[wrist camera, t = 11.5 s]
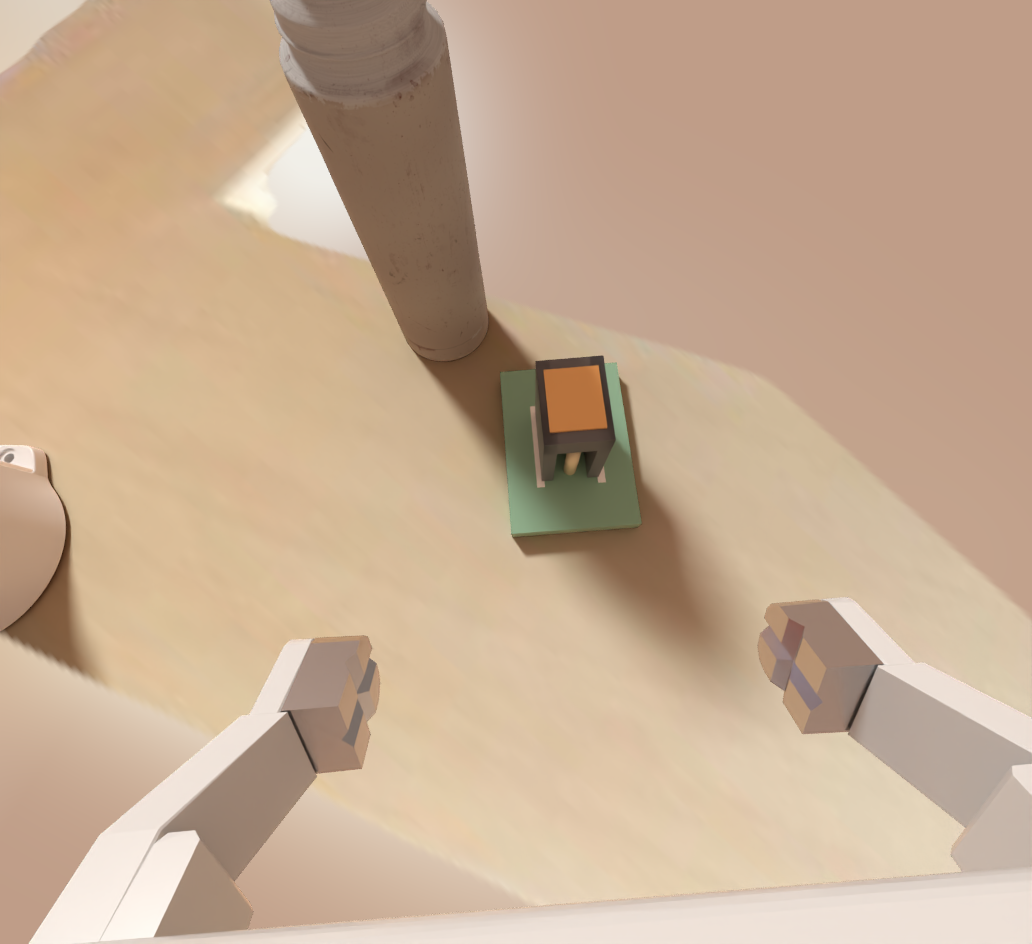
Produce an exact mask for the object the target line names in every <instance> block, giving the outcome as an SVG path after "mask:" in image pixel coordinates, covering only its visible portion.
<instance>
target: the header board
mask: <svg viewBox="0 0 1032 944" xmlns="http://www.w3.org/2000/svg"><path fill="white" fill-rule="evenodd" d="M605 370H606V377H607V384H608V390H609V397H610V404H611V410H612V417H613V424H614V431H615V437H616V441H615V443H614V445H613V447H612V449H611V451H610V453H609V456H608V458H607V460H606V462H605V464H604V466H603V468H602V470H601V473H600V475H599V477H589V478H587V472H586V464H585V456H584V452H576V453H564V454H557V457H556V464H555V471H554V477H553V480H552V481H542V480H541V469H540V458H539V448H538V437H537V427H536V416H535V377H536V369H531V370H519V371H507V372H500V380H501V394H502V408H503V422H504V437H505V451H506V465H507V479H508V493H509V508H510V522H511V534H512V537H521V536H534V535H546V534H559V533H572V532H585V531H597V530H610V529H623V528H635V527H639V526H640V525H641V524H642V522H641V516H640V509H639V503H638V497H637V490H636V484H635V477H634V471H633V465H632V458H631V452H630V445H629V439H628V433H627V426H626V420H625V414H624V407H623V401H622V394H621V388H620V382H619V375H618V369H617V362H616V363H605Z"/></svg>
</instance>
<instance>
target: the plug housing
mask: <svg viewBox="0 0 1032 944" xmlns="http://www.w3.org/2000/svg"><path fill="white" fill-rule="evenodd" d="M535 416H536V427H537V437H538V448H539V458H540V469H541V480H542V481H552V480H553V477H554V471H555V464H556V457H557V454H564V453H576V452H584V456H585V464H586V472H587V478H589V477H599V475H600V473H601V470H602V468H603V466H604V464H605V462H606V460H607V458H608V456H609V453H610V451H611V449H612V447H613V445H614V443H615V441H616V437H615V431H614V424H613V417H612V410H611V404H610V397H609V390H608V384H607V377H606V370H605V363H604V357H603V356H592V357H580V358H568V359H556V360H544V361H536V377H535Z"/></svg>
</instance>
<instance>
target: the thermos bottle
mask: <svg viewBox="0 0 1032 944" xmlns="http://www.w3.org/2000/svg"><path fill="white" fill-rule="evenodd" d="M270 3H271V5H272V8H273V10H274V16H275V24H276V26H277V29H278V31H279V33H280V35H281V36H282V39H281V43H280V48H279V56H280V64H281V66H282V69H283V71H284V74H285V77H286V79H287V81H288V83H289V85H290V88H291V90H292V92H293V94H294V96H295V98H296V101H297V103H298V105H299V107H300V109H301V111H302V114H303V116H304V118H305V120H306V122H307V124H308V126H309V129H310V130H311V133H312V135H313V137H314V139H315V141H316V143H317V146H318V148H319V150H320V152H321V154H322V156H323V159H324V161H325V163H326V165H327V168H328V170H329V172H330V175H331V177H332V179H333V181H334V183H335V186H336V187H337V190H338V192H339V194H340V197H341V199H342V201H343V203H344V205H345V208H346V210H347V212H348V214H349V216H350V219H351V221H352V223H353V225H354V227H355V229H356V232H357V234H358V236H359V238H360V240H361V243H362V245H363V247H364V249H365V251H366V254H367V256H368V258H369V260H370V262H371V265H372V267H373V269H374V271H375V273H376V275H377V278H378V280H379V282H380V284H381V286H382V289H383V291H384V293H385V295H386V297H387V299H388V302H389V304H390V306H391V308H392V310H393V313H394V315H395V317H396V319H397V321H398V324H399V326H400V328H401V330H402V332H403V334H404V337H405V339H406V341H407V343H408V344H409V345H410V347H411V348H412V349H413V350H414V351H415V352H416V353H418V354H419V355H421V356H423V357H425V358H427V359H430V360H435V361H452V360H457V359H459V358H462V357H465V356H466V355H468V354H470V353H471V352H473V351H474V350H475V349H476V348H477V347H478V346H479V345H480V344H481V342H482V341H483V339H484V337H485V335H486V333H487V329H488V312H487V305H486V298H485V292H484V285H483V278H482V272H481V266H480V260H479V253H478V247H477V239H476V232H475V224H474V218H473V211H472V204H471V198H470V192H469V184H468V177H467V171H466V164H465V157H464V151H463V145H462V137H461V131H460V124H459V117H458V110H457V104H456V97H455V90H454V83H453V77H452V70H451V63H450V57H449V50H448V43H447V37H446V32H445V28H444V23H443V21H442V19H441V17H440V16H439V14H438V12H437V11H436V10H435V9H434V8H433V7H432V6H431V5H430V4H429V3H428V2H427V0H270Z"/></svg>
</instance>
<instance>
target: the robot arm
mask: <svg viewBox="0 0 1032 944" xmlns="http://www.w3.org/2000/svg"><path fill="white" fill-rule="evenodd" d="M65 535H66V521H65V514H64V510H63V506H62V504H61V501H60V499H59V497H58V495H57V494H56V492H55V491H54V489H53V488H52V486H51V484H50V482H49V480H48V472H47V460H46V455H45V453H44V451H43V450H41V449H39V448H35V447H31V446H26V445H0V631H2V630H3V629H5V628H6V627H8V626H9V625H11V624H12V623H13V622H15V621H16V620H17V619H18V618H19V617H21V616H22V615H23V614H24V613H25V612H26V611H27V610H28V609H29V608H30V607H31V606H32V605H33V604H34V602H35V601H36V600H37V599H38V598H39V596H40V595H41V594H42V592H43V591H44V590H45V588H46V587H47V585H48V583H49V582H50V580H51V578H52V576H53V575H54V573H55V570H56V568H57V566H58V563H59V561H60V558H61V555H62V551H63V548H64V543H65ZM764 618H765V620H766V621H767V623H768V624H769V626H768V627H767V628H766V629H765V630H764V631H763V632H761V633H760V637H759V642H758V652H759V659H760V662H761V664H762V667H763V670H764V671H765V673H766V675H767V677H768V678H769V680H770V682H772V683H773V684H775V685H776V686H778V687H779V688H781V689H782V690H784V696H783V703H784V705H785V706H786V708H787V710H788V711H789V713H790V715H791V716H792V718H793V720H794V721H795V723H796V724H797V726H798V728H799V729H800V731H801V733H802V734H813V733H833V732H849V733H848V735H849V736H851V737H852V738H853V739H855V740H856V741H857V742H858V743H860V744H861V745H862V746H863V747H865V748H866V749H867V750H868V751H870V752H871V753H872V754H873V755H875V756H876V757H877V758H878V759H880V760H881V761H882V762H883V763H885V764H886V765H887V766H888V767H890V768H891V769H892V770H894V771H895V772H896V773H897V774H899V775H900V776H901V777H902V778H904V779H905V780H906V781H907V782H909V783H910V784H911V785H912V786H914V787H915V788H916V789H917V790H919V791H920V792H921V793H922V794H924V795H925V796H926V797H927V798H929V799H930V800H931V801H933V802H934V803H935V804H936V805H938V806H939V807H940V808H941V809H943V810H944V811H945V812H946V813H948V814H949V815H950V816H951V817H953V818H954V819H955V820H956V821H958V822H959V823H960V824H961V825H963V826H964V827H965V829H964V831H963V832H962V833H961V835H960V836H959V837H958V839H957V840H956V841H955V843H954V844H953V845H952V849H951V857H952V858H953V859H954V861H955V862H956V864H957V865H958V866H959V868H960V869H961V871H962V872H955V873H942V874H930V875H917V876H905V877H893V878H880V879H868V880H855V881H843V882H830V883H818V884H805V885H793V886H780V887H768V888H756V889H743V890H731V891H718V892H706V893H693V894H681V895H668V896H656V897H644V898H631V899H619V900H606V901H594V902H581V903H569V904H556V905H544V906H531V907H519V908H508V909H495V910H482V911H470V912H457V913H445V914H433V915H421V916H408V917H395V918H385V919H371V920H359V921H346V922H335V923H322V924H310V925H297V926H284V927H272V928H260V929H248V927H249V924H250V921H251V918H252V915H253V909H252V907H251V904H250V902H249V901H248V900H247V898H246V897H245V895H244V894H243V893H242V891H241V890H240V889H239V888H238V886H237V885H236V884H235V882H234V881H235V880H236V879H237V877H238V876H239V875H240V874H241V872H242V871H243V870H244V869H245V867H246V866H247V865H248V863H249V862H250V861H251V860H252V858H253V857H254V856H255V854H256V853H257V852H258V851H259V849H260V848H261V847H262V846H263V844H264V843H265V842H266V841H267V839H268V838H269V837H270V835H271V834H272V833H273V832H274V830H275V829H276V828H277V826H278V825H279V824H280V823H281V821H282V820H283V819H284V818H285V816H286V815H287V814H288V813H289V811H290V810H291V809H292V807H293V806H294V805H295V804H296V802H297V801H298V800H299V799H300V797H301V796H302V795H303V793H304V792H305V791H306V790H307V788H308V787H309V786H310V785H311V783H312V782H313V781H314V780H315V778H316V777H317V775H316V774H318V773H327V772H336V771H345V770H355V769H362V767H363V763H364V759H365V755H366V751H367V747H368V743H369V739H370V735H371V734H370V731H369V728H368V724H367V721H368V720H369V719H370V718H371V717H372V716H373V715H374V714H375V713H376V710H377V705H378V701H379V693H380V677H379V670H378V667H377V663H375V662H374V661H373V660H371V659H370V658H369V657H370V654H371V650H372V646H371V644H370V641H369V638H368V636H364V635H363V636H343V637H324V638H313V639H294V640H290V641H289V642H288V643H287V644H286V645H285V646H284V647H283V649H282V651H281V653H280V655H279V657H278V659H277V661H276V663H275V665H274V667H273V669H272V671H271V673H270V675H269V676H268V678H267V680H266V682H265V684H264V686H263V688H262V690H261V692H260V694H259V696H258V698H257V700H256V702H255V704H254V706H253V708H252V710H251V712H250V714H249V715H241V716H240V717H239V718H238V719H236V720H235V721H234V722H233V723H232V724H230V725H229V726H228V727H227V728H226V729H225V730H223V731H222V732H221V733H220V734H219V735H217V736H216V737H215V738H214V739H213V740H211V741H210V742H209V743H208V744H207V745H206V746H204V747H203V748H202V749H201V750H200V751H199V752H197V753H196V754H195V755H194V756H192V757H191V758H190V759H189V760H188V761H187V762H185V763H184V764H183V765H182V766H181V767H179V768H178V769H177V770H176V771H175V772H174V773H172V774H171V775H170V776H169V777H168V778H166V779H165V780H164V781H163V782H162V783H161V784H159V785H158V786H157V787H156V788H155V789H153V790H152V791H151V792H150V793H149V794H147V795H146V796H145V797H144V798H143V799H141V800H140V801H139V802H138V803H137V804H135V805H134V806H133V807H132V808H131V809H130V810H128V811H127V812H126V813H125V814H124V815H122V816H121V817H120V818H119V819H118V820H116V821H115V822H114V823H113V824H112V825H111V826H109V827H108V828H107V829H106V830H105V831H104V832H102V833H101V834H100V835H99V836H98V838H97V839H96V841H95V842H94V844H93V845H92V847H91V849H90V850H89V852H88V853H87V855H86V856H85V858H84V859H83V861H82V862H81V864H80V865H79V867H78V869H77V870H76V872H75V873H74V875H73V876H72V878H71V879H70V881H69V882H68V884H67V885H66V887H65V889H64V890H63V892H62V893H61V895H60V896H59V898H58V899H57V901H56V902H55V904H54V905H53V907H52V908H51V910H50V911H49V913H48V914H47V916H46V917H45V919H44V921H43V922H42V924H41V925H40V927H39V928H38V930H37V931H36V933H35V934H34V936H33V937H32V939H31V940H30V942H29V944H1032V718H1031V717H1029V716H1027V715H1025V714H1023V713H1021V712H1019V711H1017V710H1016V709H1014V708H1012V707H1010V706H1008V705H1006V704H1004V703H1002V702H1000V701H998V700H996V699H994V698H992V697H990V696H988V695H986V694H984V693H982V692H980V691H978V690H976V689H974V688H973V687H971V686H969V685H967V684H965V683H963V682H961V681H959V680H957V679H955V678H953V677H951V676H949V675H947V674H945V673H943V672H941V671H939V670H937V669H935V668H933V667H931V666H929V665H928V664H926V663H924V662H921V663H915V662H914V661H913V660H912V659H911V658H910V657H909V656H908V655H907V654H906V653H905V652H904V651H903V650H902V649H901V648H900V647H899V646H898V645H897V644H896V643H895V642H894V641H893V640H892V639H891V638H890V636H889V635H888V634H887V633H886V632H885V631H884V630H883V629H882V628H881V627H880V626H879V625H878V624H877V623H876V622H875V621H874V620H873V619H872V618H871V617H870V616H869V615H868V614H867V613H866V612H865V611H864V610H863V609H862V608H861V607H860V606H859V605H858V604H857V602H855V601H854V600H852V599H850V598H848V597H842V598H830V599H821V600H806V601H795V602H783V603H772V604H770V606H769V607H768V608H767V609H766V613H765V617H764Z"/></svg>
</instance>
